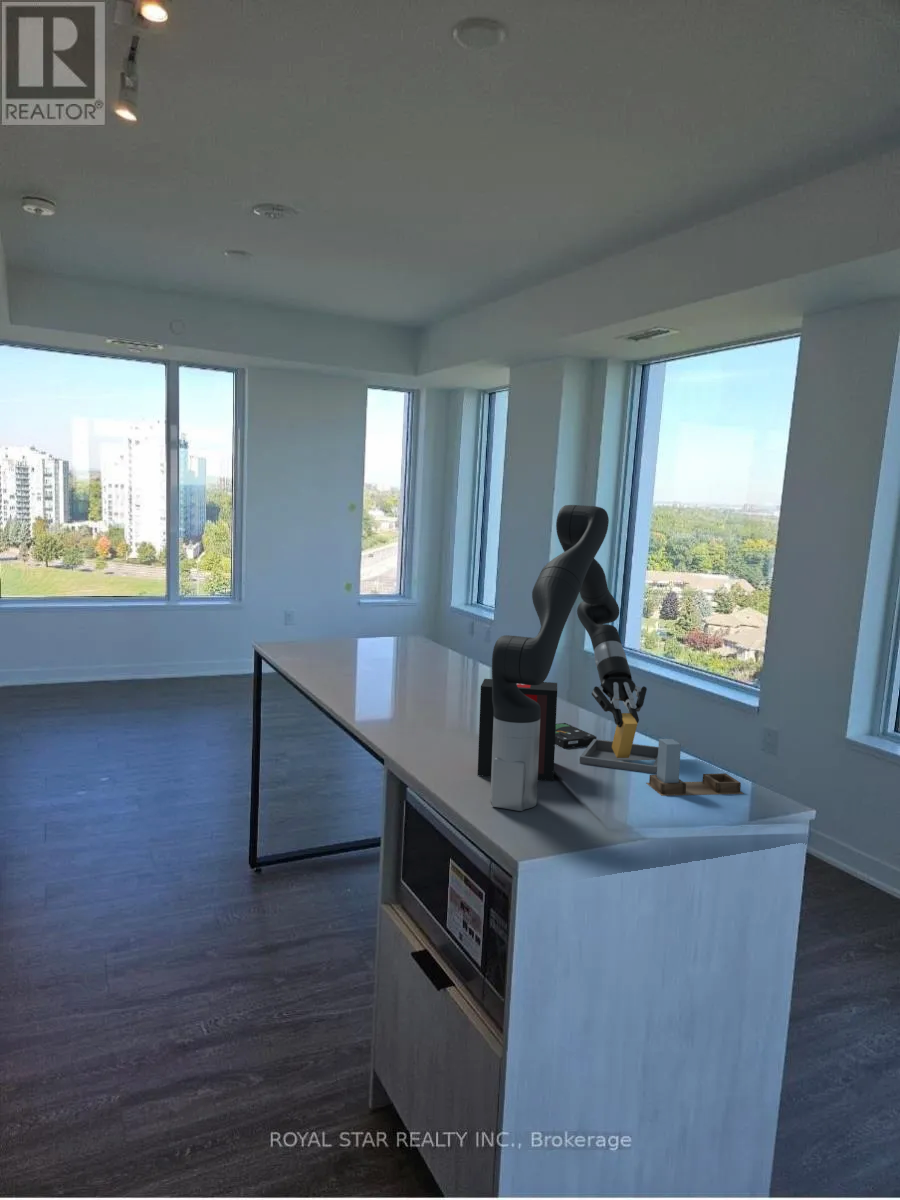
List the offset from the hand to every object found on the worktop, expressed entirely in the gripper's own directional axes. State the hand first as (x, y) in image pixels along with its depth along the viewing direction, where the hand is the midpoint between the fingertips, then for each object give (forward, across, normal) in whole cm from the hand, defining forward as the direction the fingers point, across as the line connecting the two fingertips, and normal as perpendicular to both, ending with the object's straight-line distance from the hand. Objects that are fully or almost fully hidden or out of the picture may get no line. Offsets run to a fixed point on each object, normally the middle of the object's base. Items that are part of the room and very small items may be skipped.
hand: (628, 725), depth 180 cm
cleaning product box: (+9, -27, +6) cm, 29 cm away
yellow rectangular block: (+3, 0, +8) cm, 9 cm away
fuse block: (+21, +7, -7) cm, 23 cm away
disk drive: (-10, -7, +25) cm, 28 cm away
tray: (+6, 0, +8) cm, 10 cm away
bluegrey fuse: (+20, +1, -8) cm, 21 cm away
